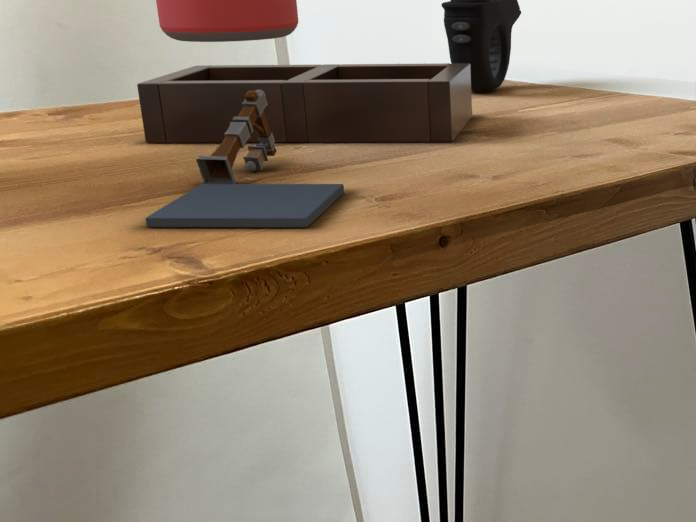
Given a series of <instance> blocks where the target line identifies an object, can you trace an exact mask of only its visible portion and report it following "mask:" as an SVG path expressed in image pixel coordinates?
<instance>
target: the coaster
mask: <svg viewBox="0 0 696 522" xmlns="http://www.w3.org/2000/svg"><path fill="white" fill-rule="evenodd" d="M344 193H345V184H344V183H235V184H205V183H201V184H199V185H197V186H196V187H194V188H192V189H190V190H189V191H188V192H186V193H184V194H183V195H181V196H179V197H178V198H176V199H174V200H173V201H170V202H169V203H168V204H166V205H164V206H163V207H161V208H159V209H158V210H156V211H155V212H153V213H151V214H149V215H147V216H145V225H146V228H259V229H261V228H266V229H267V228H271V229H272V228H285V229H286V228H291V229H292V228H293V229H294V228H295V229H297V228H302V229H303V228H304V229H305V228H308V227H309V226H310V225H312V224H313V223H314V221H316V220H317V219H318V218H319V217H320V216H321V215H322V214H323V213H324V212H325V211H327V209H328V208H330V207H331V206H332V204H334V203H335V202H336V201H337V200H338V199H339V198H340V197H342V196H343V194H344Z"/></svg>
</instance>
